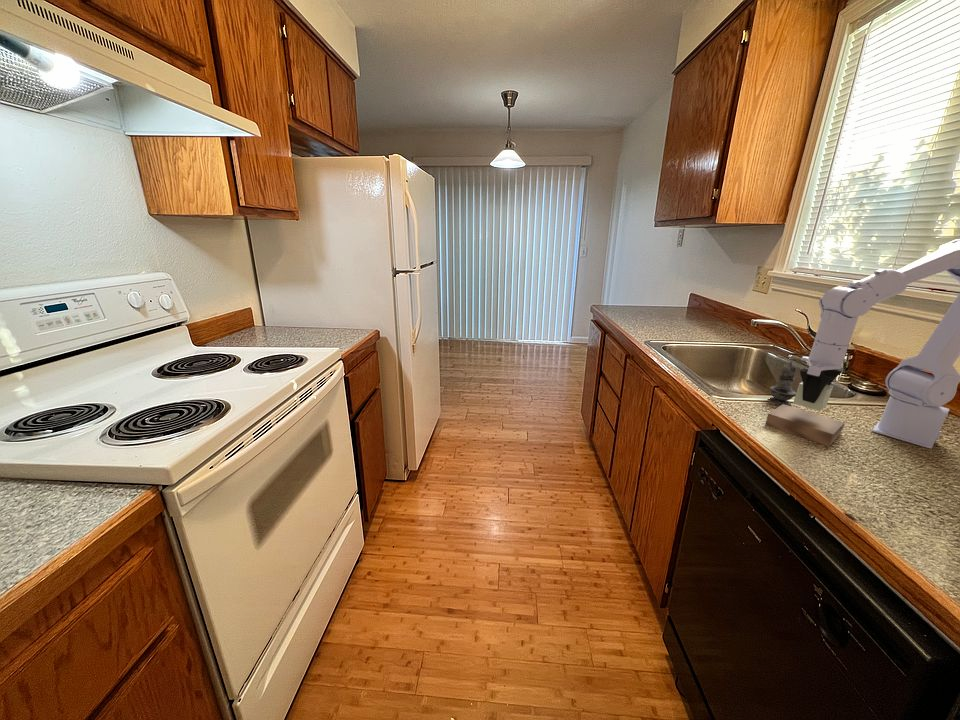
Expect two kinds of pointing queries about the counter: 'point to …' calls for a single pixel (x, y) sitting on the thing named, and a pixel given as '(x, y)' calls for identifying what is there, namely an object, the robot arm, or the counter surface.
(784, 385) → the grey stone chess piece
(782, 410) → the walnut block
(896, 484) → the counter surface
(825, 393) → the sage block
